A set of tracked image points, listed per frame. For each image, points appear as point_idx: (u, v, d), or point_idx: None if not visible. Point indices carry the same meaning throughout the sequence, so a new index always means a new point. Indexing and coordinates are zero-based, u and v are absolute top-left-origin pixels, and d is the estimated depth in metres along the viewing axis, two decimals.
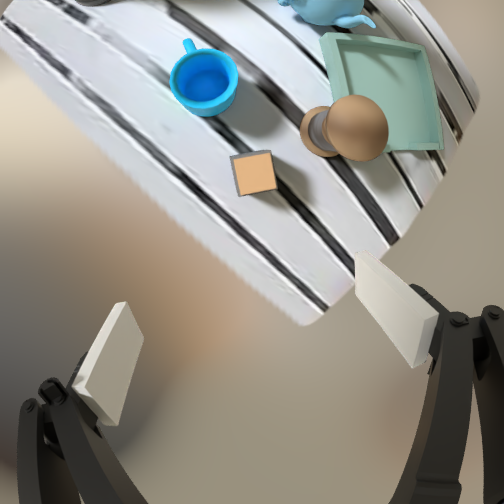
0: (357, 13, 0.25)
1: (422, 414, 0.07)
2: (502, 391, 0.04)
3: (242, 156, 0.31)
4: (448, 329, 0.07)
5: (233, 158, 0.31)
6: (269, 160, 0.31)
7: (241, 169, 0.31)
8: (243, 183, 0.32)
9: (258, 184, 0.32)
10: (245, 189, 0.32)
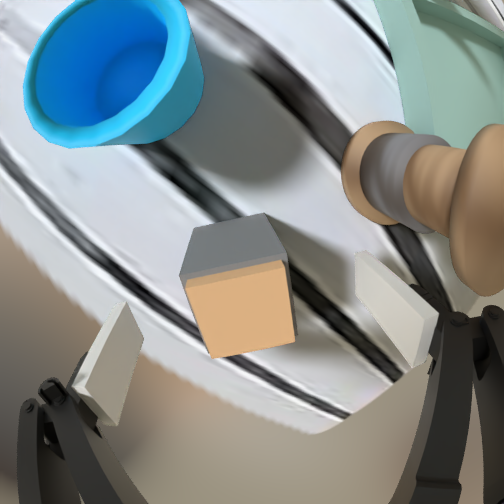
0: None
1: (422, 414, 0.07)
2: (502, 391, 0.04)
3: (210, 271, 0.12)
4: (448, 329, 0.07)
5: (187, 277, 0.12)
6: (282, 286, 0.12)
7: (208, 310, 0.12)
8: (215, 338, 0.13)
9: (252, 338, 0.13)
10: (221, 348, 0.13)
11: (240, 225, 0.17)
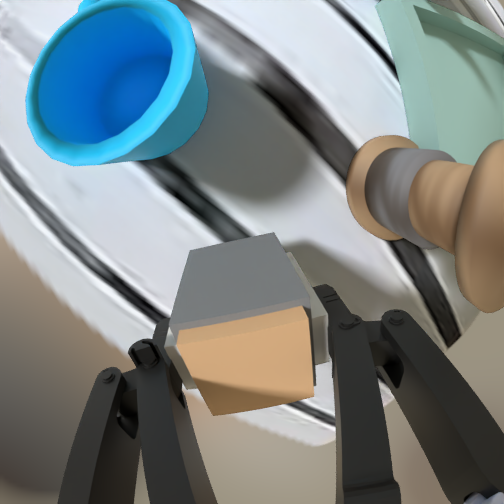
0: None
1: (335, 419, 0.08)
2: (426, 399, 0.06)
3: (209, 321, 0.09)
4: (338, 333, 0.09)
5: (179, 327, 0.09)
6: (303, 340, 0.09)
7: (207, 368, 0.09)
8: (217, 396, 0.10)
9: (263, 396, 0.10)
10: (225, 406, 0.10)
11: (246, 250, 0.14)
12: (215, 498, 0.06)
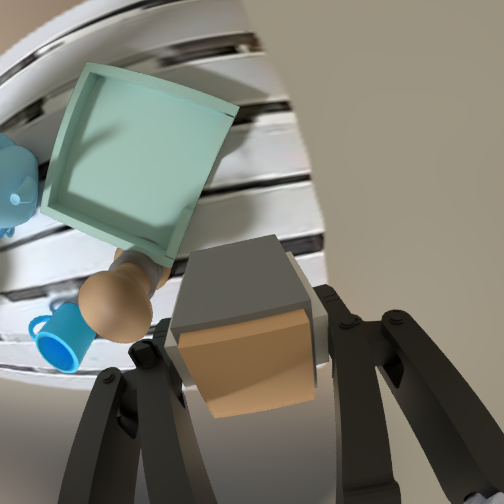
0: (21, 169, 0.22)
1: (335, 420, 0.08)
2: (426, 399, 0.06)
3: (210, 324, 0.09)
4: (338, 334, 0.09)
5: (180, 330, 0.09)
6: (304, 343, 0.09)
7: (208, 371, 0.09)
8: (219, 399, 0.10)
9: (264, 398, 0.10)
10: (226, 409, 0.10)
11: (247, 252, 0.14)
12: (215, 498, 0.06)
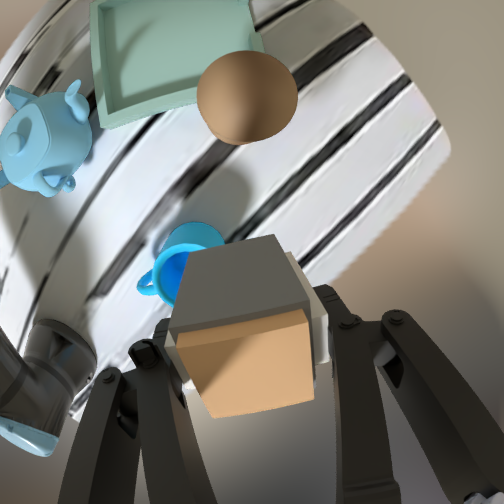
0: (64, 97, 0.21)
1: (335, 420, 0.08)
2: (426, 399, 0.06)
3: (208, 324, 0.09)
4: (338, 334, 0.09)
5: (178, 330, 0.09)
6: (303, 343, 0.09)
7: (207, 372, 0.09)
8: (217, 399, 0.09)
9: (263, 399, 0.10)
10: (224, 409, 0.10)
11: (246, 251, 0.14)
12: (215, 498, 0.06)
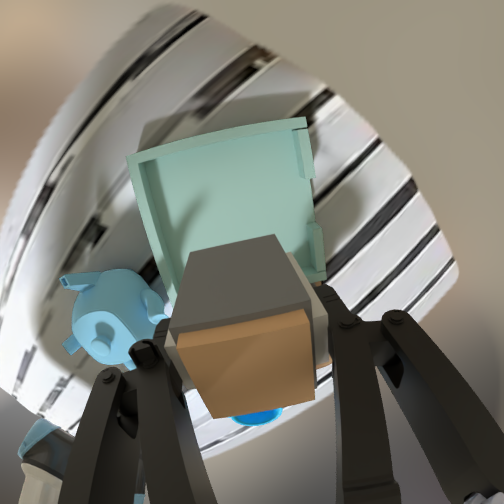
0: (133, 289, 0.29)
1: (335, 420, 0.08)
2: (426, 399, 0.06)
3: (209, 324, 0.09)
4: (338, 334, 0.09)
5: (178, 330, 0.09)
6: (304, 344, 0.09)
7: (207, 372, 0.09)
8: (218, 400, 0.09)
9: (263, 399, 0.10)
10: (225, 410, 0.10)
11: (246, 251, 0.14)
12: (215, 498, 0.06)
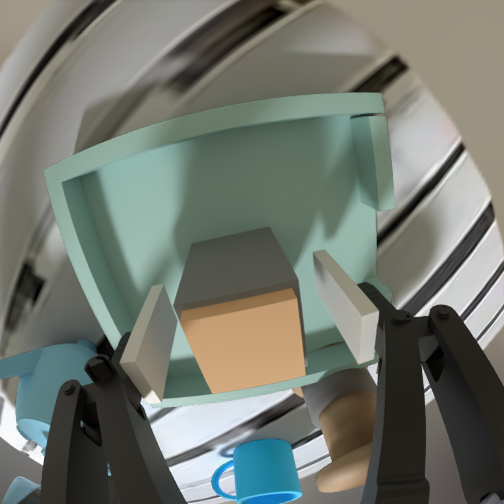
0: None
1: (376, 415, 0.07)
2: (463, 392, 0.05)
3: (209, 301, 0.10)
4: (389, 328, 0.08)
5: (182, 307, 0.10)
6: (293, 318, 0.10)
7: (207, 345, 0.10)
8: (216, 374, 0.11)
9: (258, 374, 0.11)
10: (223, 384, 0.11)
11: (243, 242, 0.15)
12: None
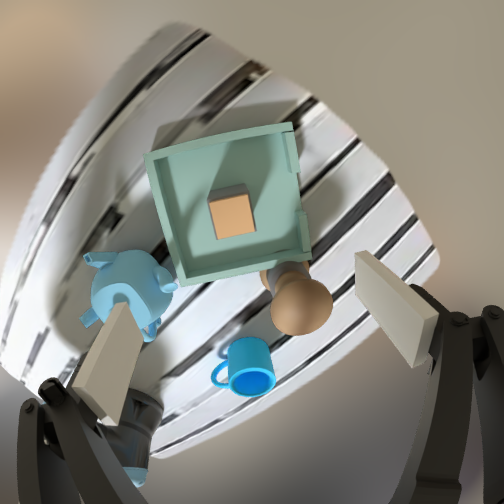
0: (146, 266, 0.35)
1: (422, 414, 0.07)
2: (502, 391, 0.04)
3: (219, 198, 0.31)
4: (448, 329, 0.07)
5: (209, 200, 0.31)
6: (247, 202, 0.30)
7: (217, 213, 0.30)
8: (220, 227, 0.31)
9: (235, 228, 0.31)
10: (222, 233, 0.31)
11: (232, 187, 0.36)
12: None
